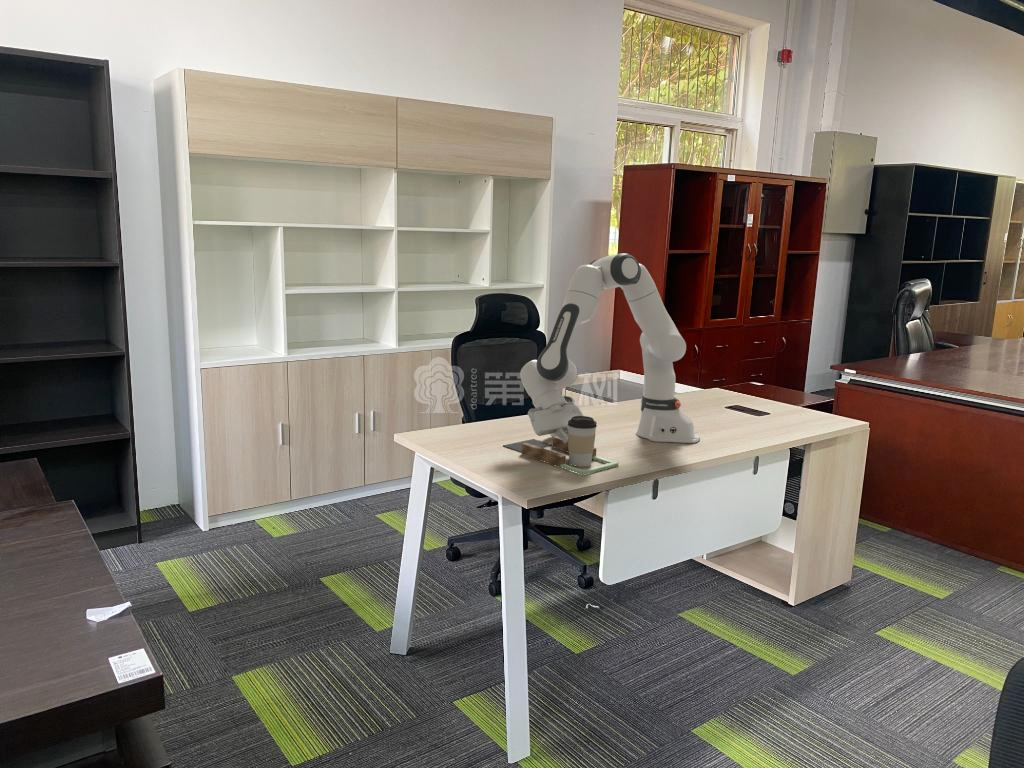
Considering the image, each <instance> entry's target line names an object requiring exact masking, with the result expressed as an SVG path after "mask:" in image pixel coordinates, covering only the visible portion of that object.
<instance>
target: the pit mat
mask: <svg viewBox="0 0 1024 768" xmlns="http://www.w3.org/2000/svg"><path fill="white" fill-rule="evenodd" d="M523 443H529V444H532V445H535V446H538V447H543V448H547V447H551V446H552V444H550V443H547V442H544V441H541V440H539V439H538V440H537V439H535V438H531V439H527V440H522V441H518V442H514V443H513V442H512V443H508V444H503V445H502V447H504V448H506V449H509V448H510V450H512V449H513V451H515V450H516V452H518V451H519V452H518V453H522V444H523ZM550 445H551V446H550ZM546 446H547V447H546Z"/></svg>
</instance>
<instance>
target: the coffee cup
mask: <svg viewBox="0 0 1024 768" xmlns="http://www.w3.org/2000/svg"><path fill="white" fill-rule="evenodd" d="M597 426H598V425H597V421H595V420H594V418H593V417H591V416H588V415H587V416H586V415H584V416H574V417H572V418H571V420H569V421H568V451H569V452H568V464H569V463H570V464H572V465H571V466H573V465H576V466H575V467H577V466H587V467H589V466H588V465H590V466H591V465H592V461H593V460H592V454H593V450H594V448H595V441H596V431H597V430H596V429H597ZM570 464H569V465H570Z"/></svg>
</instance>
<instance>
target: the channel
mask: <svg viewBox="0 0 1024 768" xmlns="http://www.w3.org/2000/svg"><path fill="white" fill-rule="evenodd" d="M554 447H555V449H557V448H558V450H560V449H562V450H561V451H563V450H564V451H563V452H566V451H568V443H564V442H563V440H562V439H561V438H560V437H558V436H555V437H552V448H554ZM567 453H569V451H568V452H567ZM521 455H523V456H525V457H530V458H532V459H534V458H535V459H534V460H537V459H538V460H537V461H540V460H542V461H541V462H543V461H545V462H544V463H546V462H548V463H547V464H549V463H550V464H549V465H552V464H553V465H552V466H554V465H556V466H555V467H557V466H559V467H558V468H560V467H561V464H566V459H567V458H566V457H567V456H566V455H565V454H562V453H558V452H556V451H553V450H551V449H547V448H545V447H543V448H541V447H538V446H535V445H532V444H529V443H523V444H522V452H521ZM593 456H597V447H594V450H593V454H592V459H593Z"/></svg>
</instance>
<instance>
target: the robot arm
mask: <svg viewBox="0 0 1024 768" xmlns="http://www.w3.org/2000/svg"><path fill="white" fill-rule="evenodd" d="M617 288H621V290H622V291H623V295H624V297H625V299H626V301H627V304H628V306H629V309H630V312H631V314H632V315H633V319H634V321H635V322H636V324H637V325H638V327H639V328H640V330H641V334H640V337H639V344H640V347H641V354H642V364H643V375H644V376H643V391H642V392H643V395H642V396H641V400H640V411H641V413H640V414H641V415H640V419H639V424H638V426H637V430H636V432H635V433H636V435H637V436H638V437H640V438H645V439H647V440H649V441H651V442H660V443H661V442H664V443H665V442H666V443H687V444H688V443H689V444H695V443H698V442H699V441H700V440H701V438H700V434H699V432H696V431H695V426H694V422H693V420H692V418H691V417H689V416H688V414H686V413H685V412H684V411H682V409H680V407H681V405H682V403H681V401H680V399H679V398H676V397H675V396H676V395H675V392H676V373H675V370H674V363H673V362H677V361H679V360H681V359H682V358H683V357H684V356H685V354H686V351H687V343H686V341H685V339H684V338H683V336H682V334H681V333H680V332H679V330H678V328H677V327H676V324H675V323H674V321H673V320H672V317H671V316H670V314H669V313H668V311H667V309H666V307H665V305H664V303H663V300H662V297H661V295H660V293H659V291H658V287H657V286H656V283H655V281H654V279H653V278H652V276H651V273H650V272H649V271H648V269H647V268H646V266H645V265H643V264H642V263H639V261H638V260H637V259H636V258H635V256H633V255H631V254H629V253H621V252H620V253H618V254H611V255H607V256H604V257H602V258H599V259H594V260H592V261H591V262H589V264H581V265H580V266H578V267H577V268H576V270H575V272H573V276H572V277H571V280H570V282H569V285H568V288H567V291H566V293H565V297H564V301H563V304H562V307H561V310H560V312H559V314H558V316H557V319H556V321H555V323H554V327H553V329H552V331H551V334H550V337H549V340H548V341H547V343H546V346H545V347H544V348H543V349H542V351H541V352H540V354H539V355H538V357H537V359H532V360H530V361H528V362H526V363H525V364H524V365H523V366H522V367H521V370H520V373H519V375H520V377H519V378H520V380H521V383H522V384H523V388H524V389H525V391H526V393H527V394H528V396H529V397H530V398H531V400H532V404H533V406H534V408H530V409H529V410H528V412H527V416H528V417H529V420H530V424H531V426H532V429H533V431H534V433H535V435H537V436H539V437H542V436H546V435H550V434H552V433H556V435H557V436H558V437H560V438H561V439H562V440H563V442H564V443H568V421H569V420H571V418H572V417H574V416H585V415H584V413H583V412H582V410H581V409H580V407H579V406H578V405H577V404H576V401H575V398H574V397H572V396H570V395H569V396H568V395H564V394H562V393H561V394H560V393H559V392H558V391H560V390H563V389H565V388H567V387H569V386H571V385H572V384H574V383H575V382H576V380H577V378H578V374H579V373H578V367H577V365H576V364H575V363H574V362H573V361H572V359H570V358H569V356H568V349H569V345H570V342H571V339H572V336H573V334H574V331H575V329H576V327H577V326H578V325H581V324H586V323H588V322H589V321H591V320H592V319H593V318H594V316H595V313H596V311H597V309H598V305H599V302H600V297H601V293H602V291H603V290H612V289H617ZM563 431H564V433H565V434H566V433H567V436H566V435H565V434H564V433H563Z"/></svg>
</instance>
